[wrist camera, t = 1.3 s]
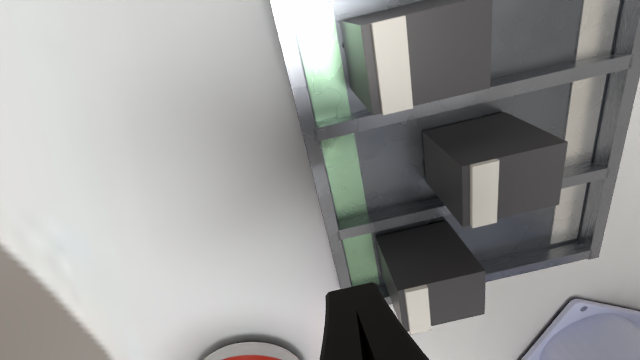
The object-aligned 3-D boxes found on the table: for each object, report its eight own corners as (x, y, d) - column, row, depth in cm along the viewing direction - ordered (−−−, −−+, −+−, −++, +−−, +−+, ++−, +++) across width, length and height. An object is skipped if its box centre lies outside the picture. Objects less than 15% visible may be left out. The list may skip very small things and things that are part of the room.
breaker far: (446, 220, 19) (488, 273, 15) (448, 259, 20) (486, 317, 16) (375, 237, 19) (398, 294, 15) (381, 274, 20) (404, 336, 16)
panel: (630, -95, 14) (681, -110, 12) (572, 236, 22) (598, 257, 20) (268, -10, 14) (266, -12, 12) (341, 289, 22) (347, 315, 20)
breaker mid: (505, 111, 16) (571, 143, 12) (502, 164, 17) (562, 207, 14) (422, 131, 16) (464, 168, 12) (426, 182, 17) (465, 230, 14)
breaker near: (437, -3, 14) (496, -6, 10) (440, 68, 15) (493, 89, 11) (339, 20, 14) (361, 25, 10) (351, 89, 15) (374, 117, 11)
